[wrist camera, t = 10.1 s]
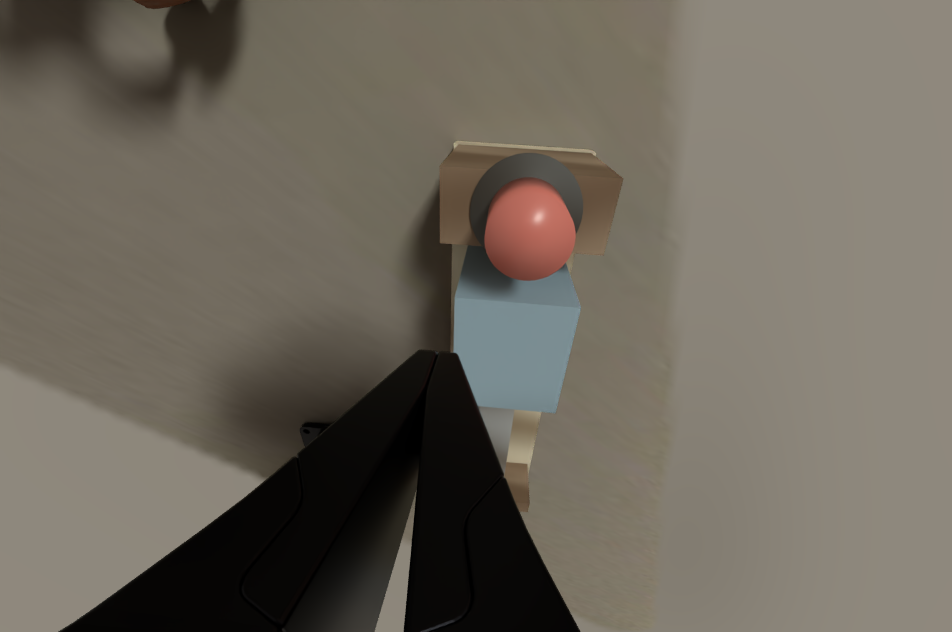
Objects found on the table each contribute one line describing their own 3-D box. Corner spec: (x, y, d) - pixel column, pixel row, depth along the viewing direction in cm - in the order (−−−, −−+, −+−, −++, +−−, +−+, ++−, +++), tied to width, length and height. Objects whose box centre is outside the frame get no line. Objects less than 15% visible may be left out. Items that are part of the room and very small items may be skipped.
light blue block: (543, 329, 20) (555, 413, 15) (466, 322, 20) (452, 403, 15) (559, 241, 17) (580, 308, 12) (470, 235, 17) (454, 297, 12)
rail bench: (527, 460, 28) (532, 545, 23) (450, 453, 28) (437, 535, 23) (594, 135, 16) (636, 160, 11) (456, 126, 16) (432, 146, 11)
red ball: (557, 256, 12) (566, 283, 10) (485, 250, 12) (481, 277, 10) (571, 180, 11) (584, 197, 9) (490, 174, 11) (487, 190, 9)
